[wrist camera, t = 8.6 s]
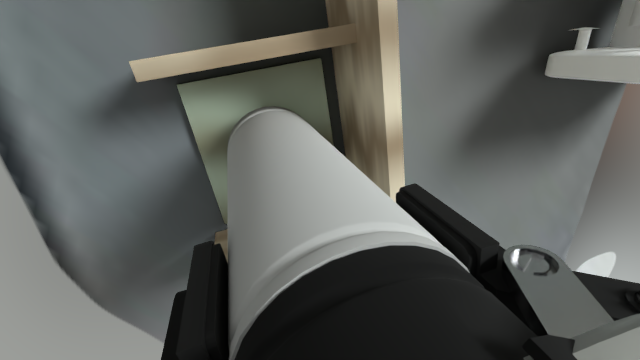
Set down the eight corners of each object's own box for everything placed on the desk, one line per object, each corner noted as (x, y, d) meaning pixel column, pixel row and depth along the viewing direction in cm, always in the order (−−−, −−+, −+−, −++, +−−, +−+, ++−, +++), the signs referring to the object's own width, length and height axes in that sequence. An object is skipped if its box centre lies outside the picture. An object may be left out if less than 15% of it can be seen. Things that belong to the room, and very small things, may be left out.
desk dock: (34, -259, 14) (-176, -597, 7) (310, -255, 16) (375, -501, 9) (218, 242, 25) (215, 315, 18) (361, 201, 28) (407, 252, 21)
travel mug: (330, 124, 22) (718, 400, 5) (291, 199, 24) (476, 621, 6) (250, 84, 20) (446, 365, 2) (213, 171, 21) (149, 752, 4)
